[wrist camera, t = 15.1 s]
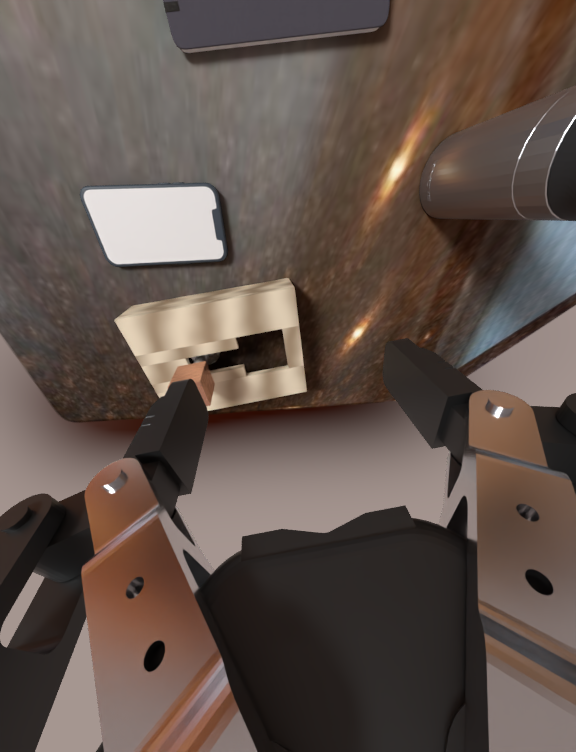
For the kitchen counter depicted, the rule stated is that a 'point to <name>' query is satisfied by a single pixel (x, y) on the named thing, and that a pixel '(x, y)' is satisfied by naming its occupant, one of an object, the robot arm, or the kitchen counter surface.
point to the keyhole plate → (218, 339)
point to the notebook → (268, 21)
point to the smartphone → (157, 223)
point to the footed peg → (199, 375)
